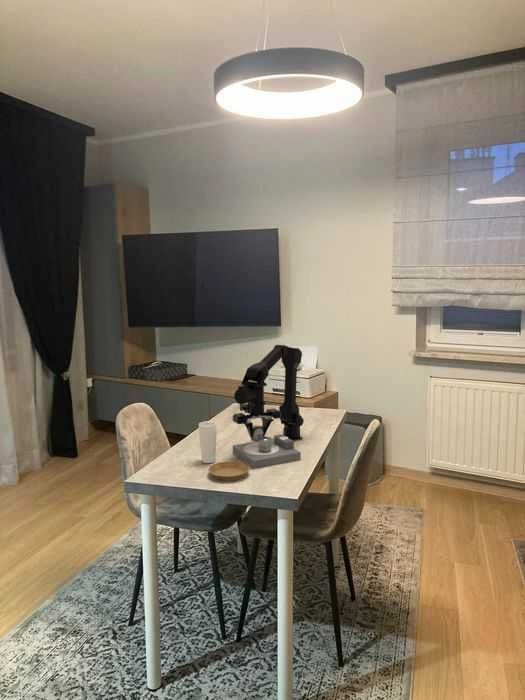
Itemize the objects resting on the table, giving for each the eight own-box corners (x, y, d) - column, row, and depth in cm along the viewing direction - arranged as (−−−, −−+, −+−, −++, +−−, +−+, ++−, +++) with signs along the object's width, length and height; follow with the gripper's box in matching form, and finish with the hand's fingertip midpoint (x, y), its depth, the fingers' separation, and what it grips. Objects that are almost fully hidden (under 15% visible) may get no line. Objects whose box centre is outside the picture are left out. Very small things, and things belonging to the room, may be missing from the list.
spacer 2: (273, 451, 202) (273, 439, 202) (262, 453, 200) (262, 441, 199) (267, 447, 207) (267, 435, 206) (256, 450, 204) (256, 437, 204)
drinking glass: (214, 465, 199) (213, 426, 197) (197, 464, 200) (196, 425, 198) (219, 458, 206) (218, 421, 203) (203, 457, 207) (201, 420, 205)
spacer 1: (265, 440, 208) (265, 427, 207) (254, 442, 206) (253, 429, 205) (260, 436, 213) (260, 424, 212) (248, 438, 210) (248, 426, 210)
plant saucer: (230, 464, 200) (230, 458, 199) (258, 474, 190) (258, 467, 189) (200, 475, 189) (199, 468, 189) (227, 486, 179) (227, 479, 179)
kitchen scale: (276, 444, 221) (276, 430, 220) (300, 459, 203) (300, 443, 202) (232, 452, 212) (232, 437, 212) (253, 468, 195) (253, 452, 194)
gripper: (268, 391, 218) (269, 428, 220) (226, 397, 210) (227, 435, 212) (281, 397, 208) (281, 435, 210) (237, 403, 200) (238, 442, 202)
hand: (257, 437), depth 209 cm, fingers closed on spacer 1, 5 cm apart
